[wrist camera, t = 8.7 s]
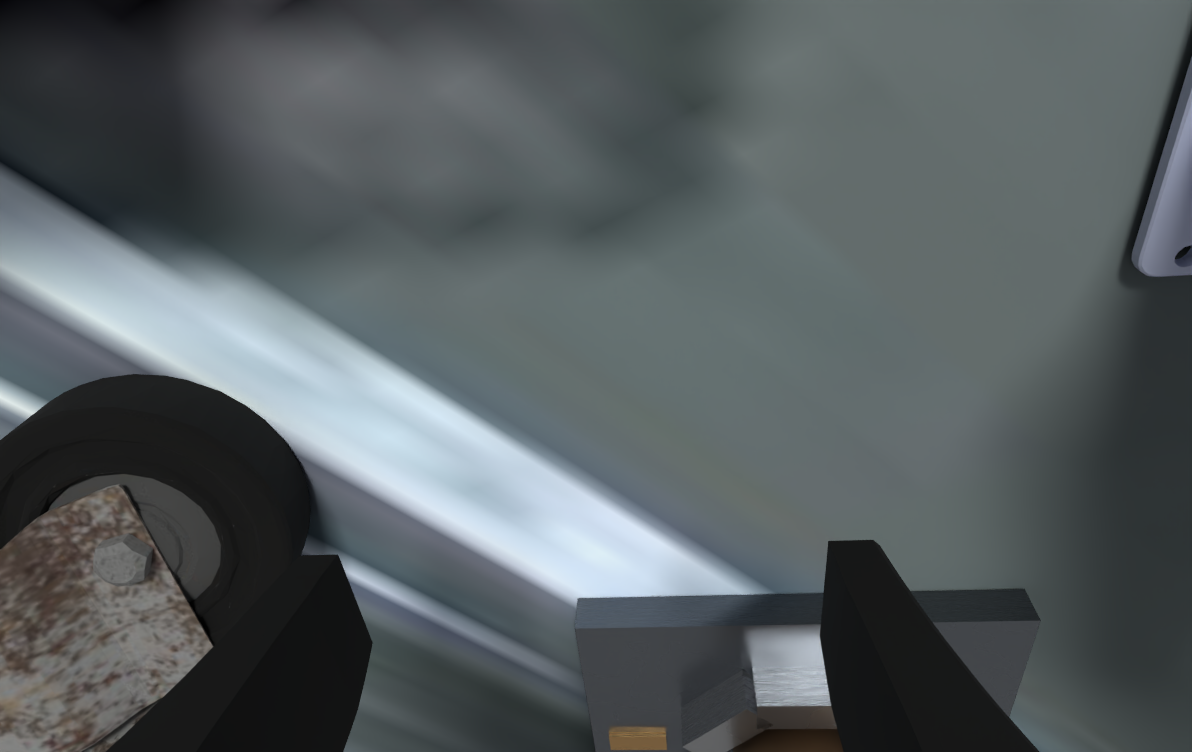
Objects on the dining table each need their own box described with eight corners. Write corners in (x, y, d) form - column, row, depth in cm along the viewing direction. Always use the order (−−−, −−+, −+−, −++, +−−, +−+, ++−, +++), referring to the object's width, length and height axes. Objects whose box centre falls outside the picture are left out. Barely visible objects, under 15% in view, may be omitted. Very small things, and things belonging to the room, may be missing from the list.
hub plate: (1024, 589, 24) (1061, 660, 22) (962, 796, 31) (986, 867, 29) (577, 598, 26) (571, 666, 23) (609, 795, 32) (606, 862, 30)
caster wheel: (266, 315, 23) (379, 579, 27) (-103, 412, 23) (64, 664, 27) (183, 407, 17) (345, 730, 21) (-321, 541, 17) (-63, 842, 21)
